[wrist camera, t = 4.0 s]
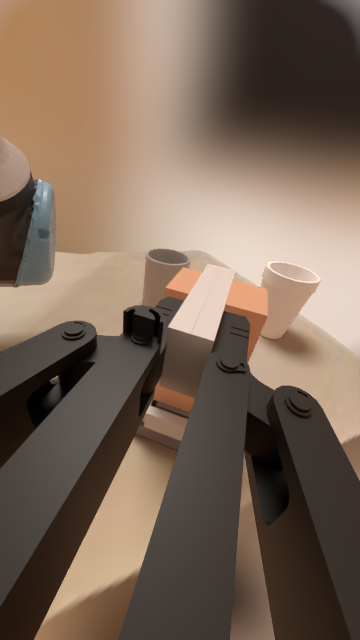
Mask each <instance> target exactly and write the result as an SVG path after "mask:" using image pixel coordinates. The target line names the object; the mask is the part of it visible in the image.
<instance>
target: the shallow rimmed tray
mask: <svg viewBox="0 0 360 640" xmlns="http://www.w3.org/2000/svg"><path fill="white" fill-rule="evenodd" d="M157 402H158V401H156V400H152V402H151V404H150V406H149V408H148V410H147V412H146V414H145V416H144V418H143V420H142V422H141V424H140V426H139V428H138V430H137V432H136V434H137V435H139V436H142V437H144V438H147V439H149V440H152V441H155V442H157V443H160V444H162V445H165V446H167V447H170V448H172V449H175V450H177V451H178V450H179V447H180V443H181V440H182V437H183V434H184V431H185V428H186V424H187V421H188V419H186V418H183V417H180V416H177V415H175V414H172V413H169V412H167V411H164V410H161V409H158V408H156V404H157Z"/></svg>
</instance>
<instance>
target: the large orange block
mask: <svg viewBox="0 0 360 640" xmlns="http://www.w3.org/2000/svg"><path fill="white" fill-rule="evenodd" d="M202 273H203V272H200V271H196V270H192V269H188V268H184V267H183V268H182V269H181V270H180V271H179V273H178V274H177V275H176V276H175V277H174V278H173V279H172V281H171V282H170V283H169V284H168V285H167V286H166V287H165V294H164V298H166V297H168V296H170V297H173V298H177V299H180V300H184V301H185V299H186V298H187V296H188V294H189V293H190V291H191V290H192V288H193V287H194V285H195V283H196V282H197V280H198V279H199V277H200V276H201V274H202ZM224 311H227V312H230V313H234V314H237V315H241V316H245V317H246V318H247V319H248V321H249V323H250V332H249V344H248V355H247V364H248V361H249V359H250V357H251V354H252V352H253V350H254V347H255V345H256V343H257V340H258V338H259V336H260V333H261V331H262V328H263V326H264V324H265V321H266V319H267V317H268V302H267V289H265V288H261V287H257V286H254V285H250V284H246V283H242V282H238V281H234V280H233V281H232V284H231V288H230V291H229V295H228V298H227V301H226V305H225V308H224ZM159 383H160V379H159V381H158V383H157V385H156V387H155V394H154V398H153V400H156V401H158V402H157V404H156V408H158V409H161V410H164V411H167V412H169V413H172V414H175V415H177V416H180V417H183V418H186V419H188V418H189V415H190V412H191V409H192V405H193V402H194V399H195V398H193V397H190V396H187V395H184V394H181V393H178V392H175V391H173V390H170V389H167V388H164V387H161V386H159Z"/></svg>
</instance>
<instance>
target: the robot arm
mask: <svg viewBox="0 0 360 640" xmlns="http://www.w3.org/2000/svg"><path fill="white" fill-rule="evenodd" d="M55 220H56V215H55V196H54V191H53V188H52V186H51V185H50V184H49V183H46V182H43V181H42V180H34V181H33V178H32V174H31V171H30V166H29V164H28V161H27V159H26V157H25V156H24V154H23V153H22V152H21V151H20V150H19V149H18V148H17V147H15V146H14V145H13V144H11V143H10V142H8V141H7V140H6V139H4V138H3V137H2V136H1V133H0V287H15V288H16V287H19V286H28V285H42V284H45V283H47V282H48V281H49V280H50V279H51V277H52V275H53V270H54V261H55V237H56V235H55V234H56V228H55V227H56V224H55V222H56V221H55ZM234 274H235V270H231V269H227V268H223V267H219V266H215V265H211V264H208V265H207V266H206V268H205V269H204V271H203V273H202V274H201V276H200V277H199V279H198V280H197V282H196V283H195V285H194V287H193V288H192V290H191V291H190V293H189V294H188V296H187V298H186V299H185V301H184V300H180V299H177V298H173V297H170V296H168V297H166V298H164V299H162V300H160V301H159V303H158V304H157V305H156V307H154V308H153V307H150V306H144V305H141V306H133V307H129V308H127V309H126V310H124V316H123V333H122V334H121V335H120V336H103V335H97V333H96V329H95V327H94V326H93V325H92V324H90V323H88V322H85V321H69V322H65V323H62V324H59V325H57V326H55V327H53V328H51V329H49V330H47V331H45V332H43V333H41V334H39V335H37V336H35V337H33V338H31V339H28V340H26V341H24V342H22V343H20V344H18V345H16V346H14V347H12V348H10V349H8V350H6V351H4V352H2V353H0V640H34V638H35V636H36V634H37V632H38V630H39V628H40V626H41V624H42V622H43V620H44V618H45V616H46V614H47V612H48V610H49V608H50V606H51V604H52V602H53V600H54V598H55V596H56V594H57V592H58V590H59V588H60V586H61V584H62V581H63V579H64V577H65V575H66V573H67V571H68V569H69V567H70V565H71V563H72V561H73V559H74V557H75V555H76V553H77V551H78V549H79V547H80V545H81V543H82V541H83V539H84V537H85V535H86V533H87V531H88V529H89V527H90V525H91V523H92V521H93V519H94V517H95V515H96V513H97V511H98V509H99V507H100V505H101V503H102V501H103V499H104V497H105V495H106V493H107V491H108V489H109V487H110V485H111V482H112V480H113V478H114V476H115V474H116V472H117V470H118V468H119V466H120V464H121V462H122V460H123V458H124V456H125V454H126V452H127V450H128V448H129V446H130V444H131V442H132V440H133V438H134V436H135V434H136V432H137V430H138V428H139V426H140V424H141V422H142V420H143V418H144V416H145V414H146V412H147V410H148V408H149V406H150V404H151V402H152V400H153V398H154V394H155V387H156V385H157V383H158V381H159V379H160V383H159V386H161V387H164V388H167V389H170V390H173V391H175V392H178V393H181V394H184V395H187V396H190V397H193V398H195V399H194V402H193V405H192V409H191V412H190V415H189V418H188V421H187V424H186V428H185V431H184V434H183V437H182V440H181V443H180V447H179V450H178V453H177V456H176V459H175V462H174V466H173V469H172V472H171V475H170V478H169V481H168V485H167V488H166V491H165V494H164V497H163V500H162V504H161V507H160V510H159V513H158V516H157V519H156V523H155V526H154V529H153V532H152V535H151V538H150V542H149V545H148V548H147V551H146V554H145V557H144V561H143V564H142V567H141V570H140V573H139V576H138V580H137V583H136V586H135V589H134V592H133V595H132V599H131V602H130V605H129V608H128V611H127V614H126V618H125V621H124V624H123V627H122V630H121V633H120V637H119V640H230V629H231V616H232V602H233V589H234V576H235V563H236V549H237V536H238V522H239V511H240V498H241V484H242V471H243V458H244V454H245V460H246V466H247V472H248V478H249V484H250V490H251V496H252V502H253V508H254V514H255V521H256V527H257V532H258V539H259V544H260V550H261V557H262V563H263V569H264V575H265V581H266V587H267V593H268V599H269V605H270V611H271V617H272V623H273V629H274V636H275V640H360V481H359V479H358V477H357V475H356V473H355V471H354V469H353V467H352V465H351V463H350V462H349V460H348V458H347V456H346V454H345V452H344V450H343V448H342V446H341V444H340V442H339V440H338V438H337V436H336V434H335V432H334V430H333V428H332V426H331V424H330V423H329V421H328V419H327V417H326V415H325V413H324V411H323V409H322V407H321V406H320V405H319V403H318V402H317V400H315V399H314V398H313V397H312V396H311V395H310V394H308V393H307V392H305V391H303V390H301V389H300V388H296V387H293V386H280V387H278V388H276V390H273V389H271V388H269V387H268V386H266V385H264V384H263V383H261V382H260V381H258V380H257V379H256V378H255V377H254V376H253V375H252V374H251V372H250V369H249V365H248V364H247V355H248V344H249V332H250V323H249V321H248V319H247V318H246V317H245V316H241V315H237V314H234V313H230V312H227V311H224V308H225V305H226V301H227V298H228V295H229V291H230V288H231V284H232V281H233V277H234ZM57 375H58V378H57V379H55V380H52V381H50V380H51V379H53V378H54V377H56V376H57Z"/></svg>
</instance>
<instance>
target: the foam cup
mask: <svg viewBox="0 0 360 640" xmlns="http://www.w3.org/2000/svg"><path fill="white" fill-rule="evenodd" d="M262 277H263V279H262V284H261V288H265V289H267V302H268V317H267V319H266V321H265V324H264V326H263V328H262V331H261V333H260V335H261V336H264V337H266V338H270V339H278V338H281V337H282V336H283V334H284V333H285V332H286V330H287V329H288V327H289V326H290V324H291V323H292V322H293V320H294V319H295V317H296V316H297V314H298V313H299V312H300V310H301V309H302V307H303V306H304V304H305V303H306V302H307V300H308V299H309V297H310V296H311V295H312V294H313V293H314V292H315V291H316V289H317V287H318V285H319V283H320V281H321V279H320V277H319V276H318V275H317V274H316V273H314V272H312V271H311V270H308V269H306V268H304V267H302V266H298V265H295V264H292V263H287V262H281V261H271V262H269V263H267V264H266V267H265V269H264V272H263V275H262Z"/></svg>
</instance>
